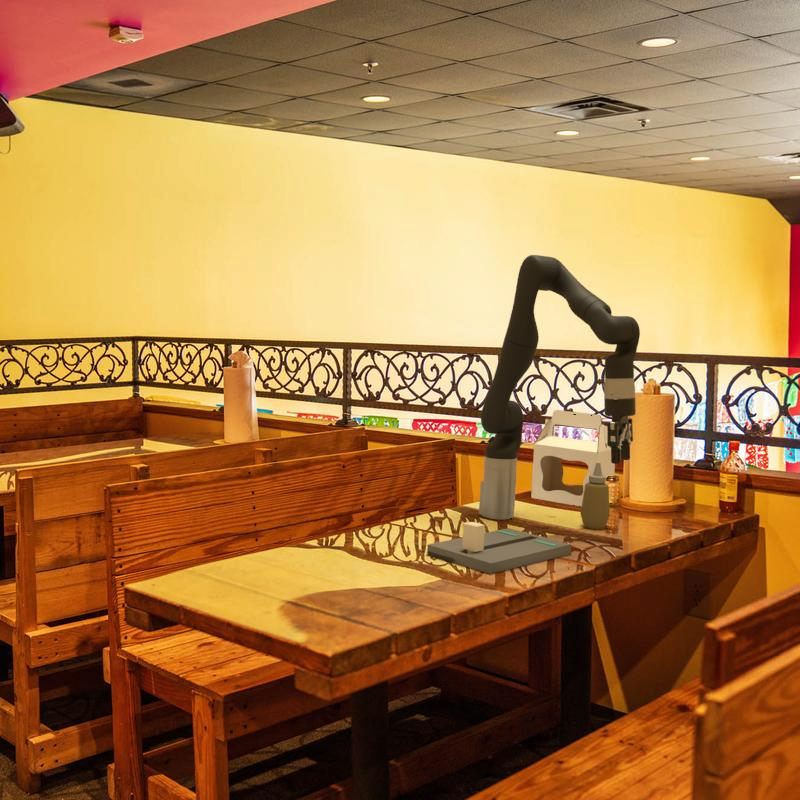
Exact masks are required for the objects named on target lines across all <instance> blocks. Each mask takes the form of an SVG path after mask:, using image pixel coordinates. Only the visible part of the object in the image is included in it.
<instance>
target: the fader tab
mask: <svg viewBox="0 0 800 800" xmlns="http://www.w3.org/2000/svg"><path fill="white" fill-rule="evenodd" d="M462 529H463V530H462V538H463V545H462V548H463V549H466V550H467V554H468V553H472V552H477V551H482V550H484V533H486V532H485V529H486V525H485V524H482V523H479V522H474V521H469V522H464V523H463V528H462Z"/></svg>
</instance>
